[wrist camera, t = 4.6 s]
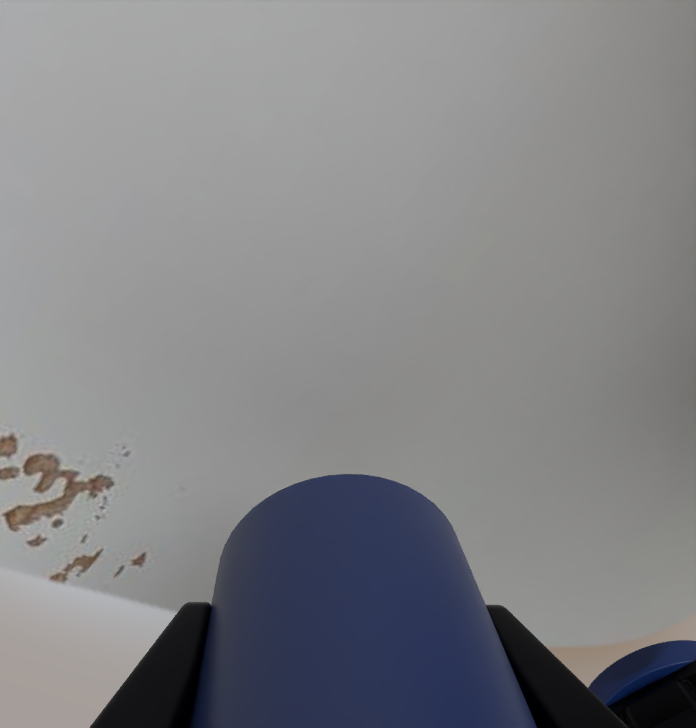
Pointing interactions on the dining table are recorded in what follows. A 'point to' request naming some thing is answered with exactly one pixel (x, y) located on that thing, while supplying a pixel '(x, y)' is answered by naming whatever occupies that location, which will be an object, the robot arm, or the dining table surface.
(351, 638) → the tin
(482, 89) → the dining table surface
